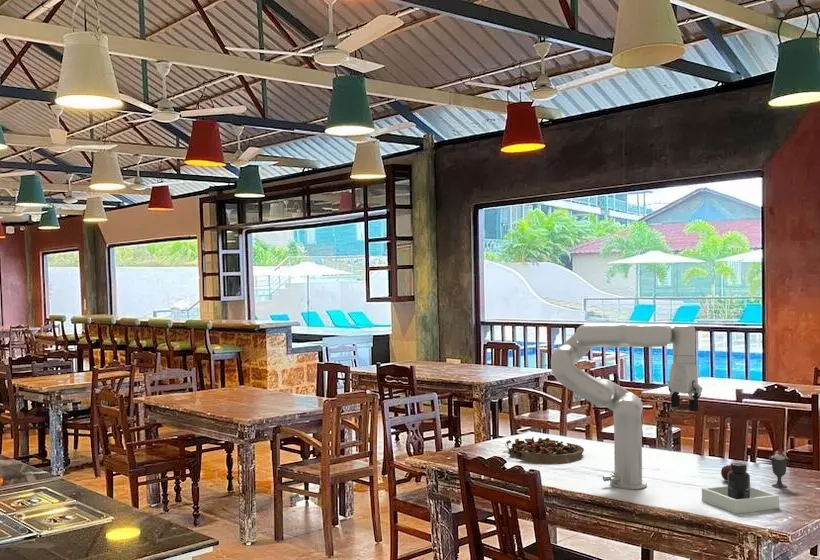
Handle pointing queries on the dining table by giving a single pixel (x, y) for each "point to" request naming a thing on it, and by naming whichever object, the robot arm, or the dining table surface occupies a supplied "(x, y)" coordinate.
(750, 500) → the tray
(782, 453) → the sundae
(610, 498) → the dining table surface
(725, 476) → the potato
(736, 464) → the supplement bottle
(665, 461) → the dining table surface
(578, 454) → the food dish
